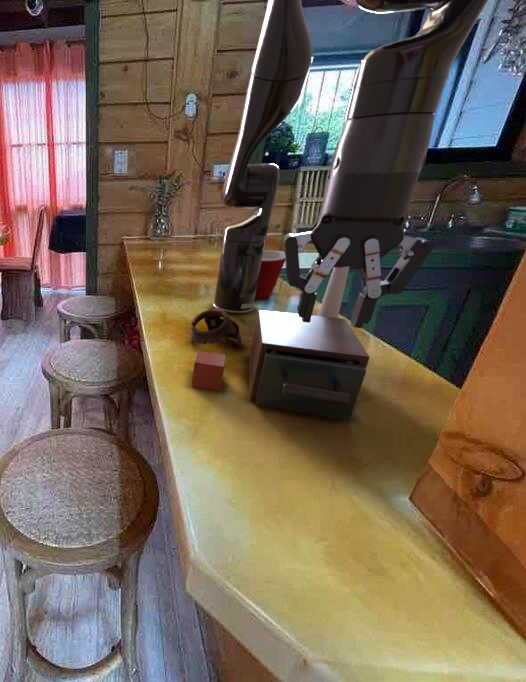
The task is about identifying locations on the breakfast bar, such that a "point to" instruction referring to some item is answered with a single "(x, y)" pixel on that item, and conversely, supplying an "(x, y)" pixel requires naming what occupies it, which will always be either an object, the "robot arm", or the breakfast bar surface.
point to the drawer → (310, 384)
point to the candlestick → (334, 293)
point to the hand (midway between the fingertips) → (329, 322)
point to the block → (208, 370)
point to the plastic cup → (269, 273)
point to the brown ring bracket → (215, 327)
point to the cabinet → (302, 340)
